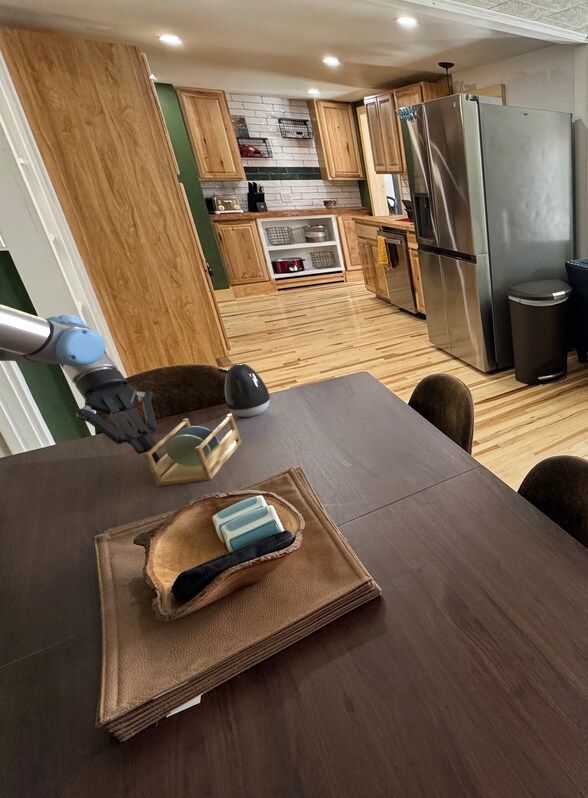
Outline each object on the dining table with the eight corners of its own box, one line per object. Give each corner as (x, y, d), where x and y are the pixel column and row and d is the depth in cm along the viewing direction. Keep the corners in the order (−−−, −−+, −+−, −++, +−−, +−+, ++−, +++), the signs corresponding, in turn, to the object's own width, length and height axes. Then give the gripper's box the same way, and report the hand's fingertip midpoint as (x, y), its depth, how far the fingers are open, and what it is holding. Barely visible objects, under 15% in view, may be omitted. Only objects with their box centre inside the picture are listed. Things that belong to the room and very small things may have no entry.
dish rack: (211, 479, 104) (198, 443, 101) (156, 486, 102) (141, 450, 98) (242, 442, 119) (231, 410, 115) (195, 447, 116) (182, 414, 113)
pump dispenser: (241, 406, 140) (226, 358, 135) (279, 403, 142) (266, 356, 136) (222, 422, 131) (205, 372, 125) (263, 419, 133) (248, 370, 127)
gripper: (57, 377, 98) (120, 468, 97) (135, 360, 108) (193, 442, 107) (57, 395, 102) (117, 483, 101) (131, 377, 112) (187, 456, 111)
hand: (156, 461), depth 104 cm, fingers closed
